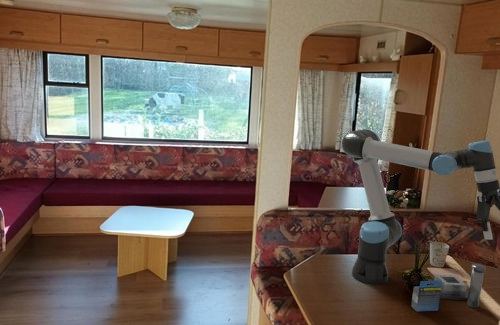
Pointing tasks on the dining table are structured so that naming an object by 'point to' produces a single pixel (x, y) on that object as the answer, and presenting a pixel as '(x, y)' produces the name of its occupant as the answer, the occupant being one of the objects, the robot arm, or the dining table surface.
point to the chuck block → (451, 287)
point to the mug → (438, 253)
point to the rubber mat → (445, 272)
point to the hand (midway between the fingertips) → (498, 234)
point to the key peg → (475, 285)
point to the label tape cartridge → (426, 296)
